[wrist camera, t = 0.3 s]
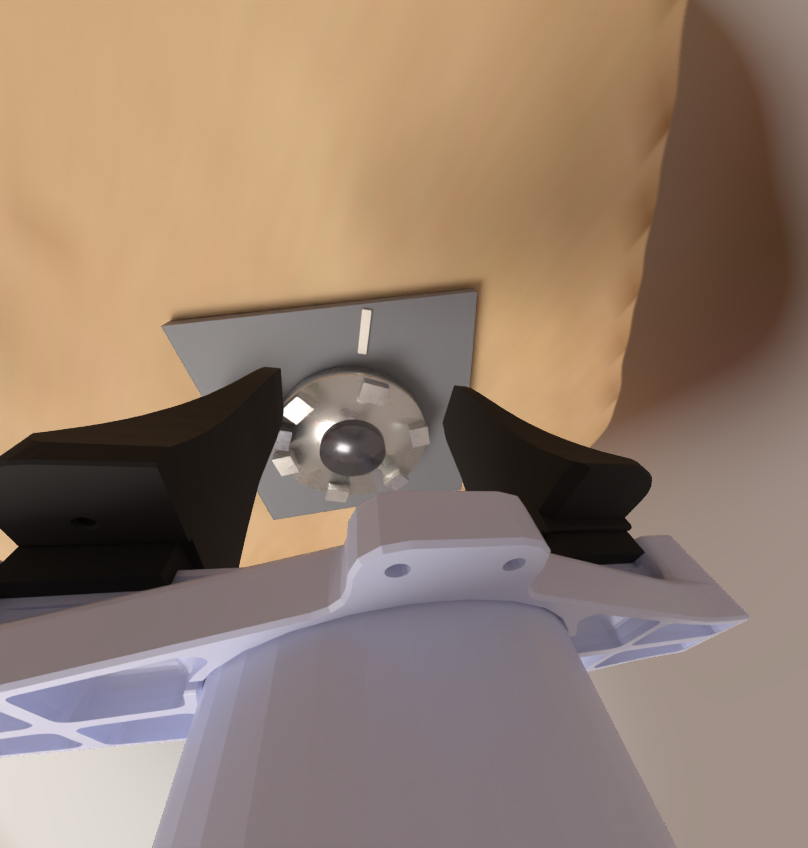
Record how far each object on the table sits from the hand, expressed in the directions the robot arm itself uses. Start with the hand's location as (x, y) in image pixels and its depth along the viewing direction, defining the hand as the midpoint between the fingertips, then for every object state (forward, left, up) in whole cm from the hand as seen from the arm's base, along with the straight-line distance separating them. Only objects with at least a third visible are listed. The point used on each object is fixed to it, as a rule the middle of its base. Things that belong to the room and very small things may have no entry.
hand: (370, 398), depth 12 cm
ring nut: (-8, +4, -9) cm, 12 cm away
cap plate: (-8, +2, -10) cm, 13 cm away
